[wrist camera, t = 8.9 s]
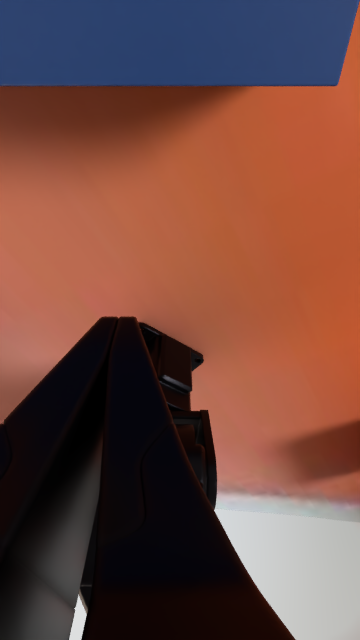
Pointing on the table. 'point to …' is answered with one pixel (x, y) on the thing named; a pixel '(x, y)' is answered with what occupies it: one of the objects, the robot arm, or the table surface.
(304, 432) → the table surface
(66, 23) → the lid
